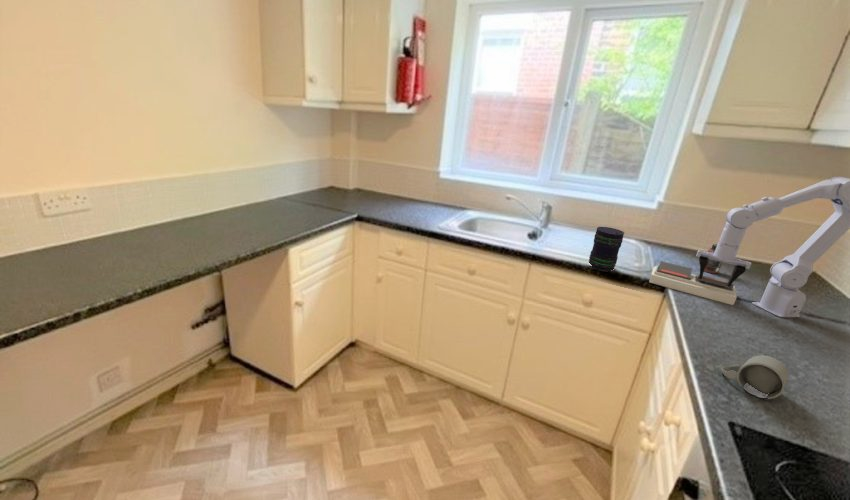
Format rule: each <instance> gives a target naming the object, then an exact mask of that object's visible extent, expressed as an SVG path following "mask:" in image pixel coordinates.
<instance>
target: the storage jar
mask: <svg viewBox="0 0 850 500" xmlns="http://www.w3.org/2000/svg"><path fill="white" fill-rule="evenodd" d="M624 236H625V232H624V231H622V230H620V229H617V228H614V227H608V226H597V227H596V231H595V234H594V238H593V245H592V250H591V251H590V255H589V259H588V262H589V263H590V264H591V265H592V267H594V268H593V269H595V270H597V269H598V270H597V271H601V272H608V271H610V272H612V271H611V270H613V269H614V268H615V267H616V265H617V263H618V262H617V261H618V260H619V259H618V258H619V256H618V255H619V251H620V248H621V247H622V244H623V240H624ZM592 267H591V268H592ZM614 270H615V269H614Z"/></svg>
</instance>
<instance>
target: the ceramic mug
mask: <svg viewBox="0 0 850 500" xmlns="http://www.w3.org/2000/svg"><path fill="white" fill-rule="evenodd" d="M720 370H721V374H722V373H723V374H724V375H725V376H727V377H728V378H727V379H729V378H730V380H734V381H737V383H738V385H739V387H741V386H742V387H744V385H745V384H746V383H748V384H749V385H751V386H752V387H754V388H755V389H757V390H758V391H760V392H762V393H765V394H768V393H769V394H768V396H767V397H766V398H768V399H767V400H772V399H776V398H778V397H780V395H782V394H783V393H784V391H785V387H786V385H787V382H788V379H789V374H788V369H787V368H786V366H785V365H784V364H783V363H782V362H781V361H780V360H779V359H776V358H775V357H772V356H770V355H762V354H761V355H755V356H753V357H750V358H749V359H748V360H747V361H745V363H743V364H742V365H737V364H734V365H732V364H730V365H726V366H723V367H721V369H720ZM730 370H734V371H736V372H728V371H730ZM742 387H741V388H742Z"/></svg>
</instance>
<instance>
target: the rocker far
mask: <svg viewBox="0 0 850 500" xmlns="http://www.w3.org/2000/svg"><path fill="white" fill-rule="evenodd" d="M658 266H659V268H658V271H657V272H660V273H664V274H668V275H672V276H676V277H680V278H684V279H688V280H690V276H691V274H692V271H693V268H691V267H688V266H687V267H686V266H683V265H679V264H675V263H670V262H667V261H663V260H661V261H660V263H659V265H658Z"/></svg>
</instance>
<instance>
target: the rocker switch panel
mask: <svg viewBox="0 0 850 500" xmlns="http://www.w3.org/2000/svg"><path fill="white" fill-rule="evenodd" d="M658 268H659V265H658V264H657V265H655V266H654V267H653V269H652V272H651V275H650V278H649V281H648V283H650V284H654V285H658V286H661V287H664V288H669V289H672V290H676V291H679V292H683V293H687V294H692V295H694V296H697V297H702V298H705V299H709V300H712V301H716V302H720V303H723V304H728V305H731V306H734V304H735V302H736V300H737V292H736V288H735V285H734V286H733V288H730V287H726V286H723V285H719V284H715V283H711V282H707V281H703V280H699V279H697V278H696V276H697V274H694V273H691V276H690V280H688V279H684V278H680V277H676V276H672V275H668V274H664V273H660V272H657V271H658Z"/></svg>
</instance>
